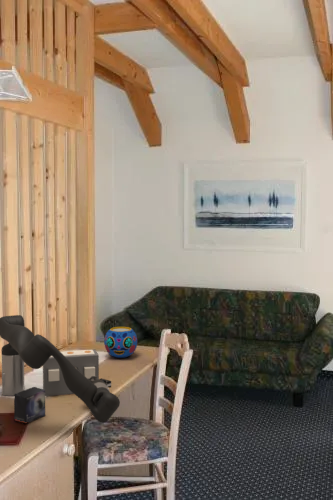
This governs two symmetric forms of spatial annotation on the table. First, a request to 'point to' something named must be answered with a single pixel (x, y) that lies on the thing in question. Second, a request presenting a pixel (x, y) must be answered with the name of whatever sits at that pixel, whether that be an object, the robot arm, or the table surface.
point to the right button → (89, 371)
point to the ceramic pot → (120, 342)
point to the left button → (53, 374)
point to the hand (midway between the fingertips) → (93, 378)
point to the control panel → (77, 360)
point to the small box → (29, 404)
